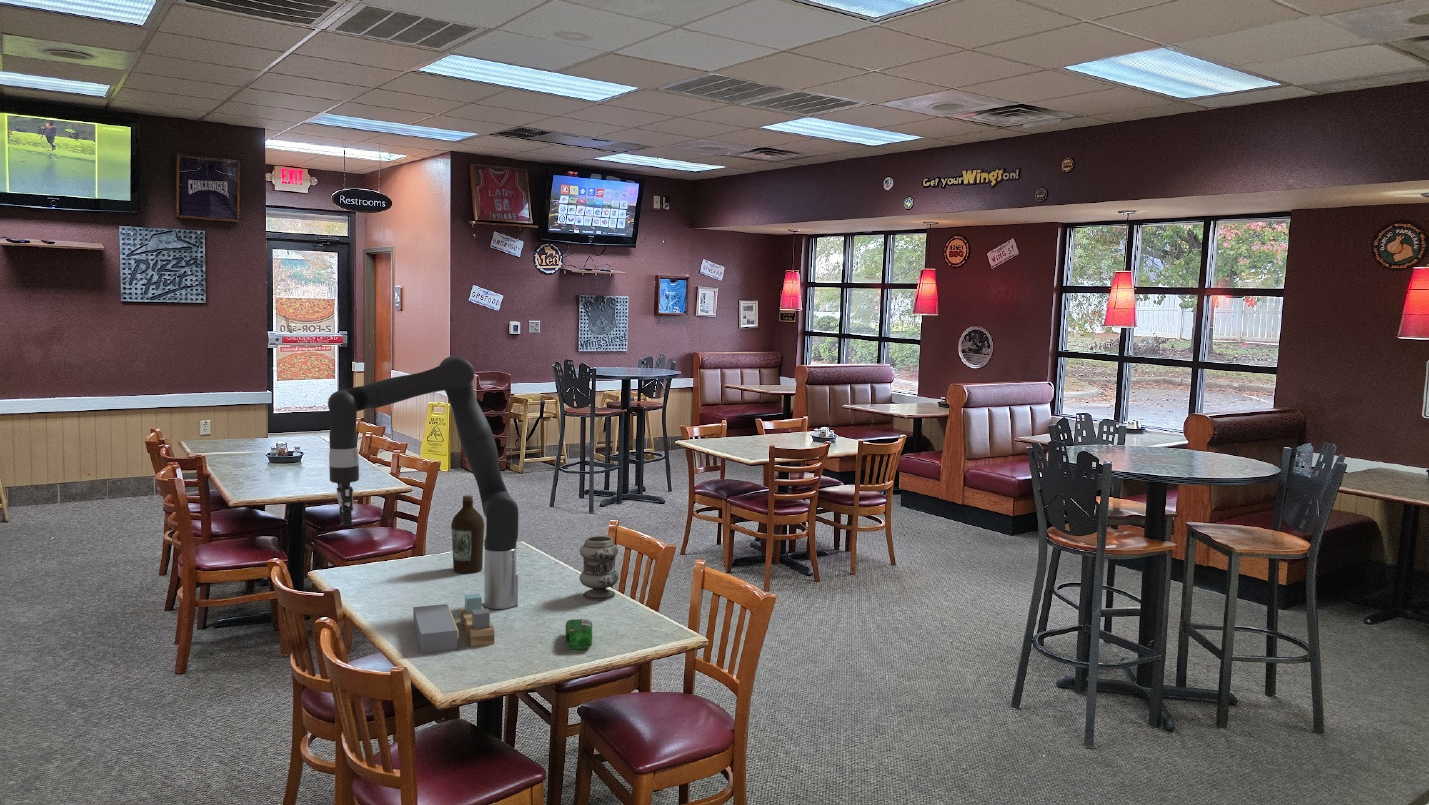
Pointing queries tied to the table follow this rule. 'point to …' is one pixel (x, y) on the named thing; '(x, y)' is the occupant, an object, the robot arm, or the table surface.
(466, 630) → the board
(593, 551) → the apothecary jar
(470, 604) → the block
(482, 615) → the block
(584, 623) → the snack package
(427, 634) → the dock
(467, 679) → the table surface
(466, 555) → the olive oil
